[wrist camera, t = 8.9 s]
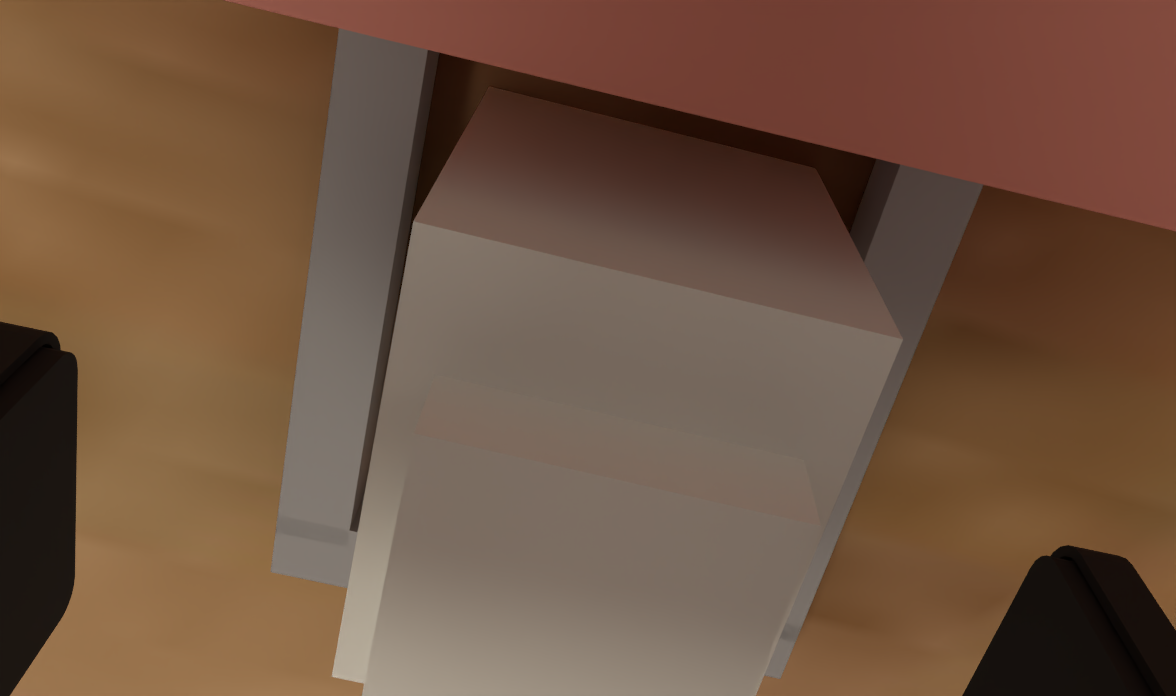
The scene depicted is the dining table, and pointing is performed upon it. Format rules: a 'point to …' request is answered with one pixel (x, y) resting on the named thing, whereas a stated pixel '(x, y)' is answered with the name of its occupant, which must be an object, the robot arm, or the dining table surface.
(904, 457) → the dining table surface
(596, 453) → the stepped cream block
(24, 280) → the dining table surface
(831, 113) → the pink toy truck
